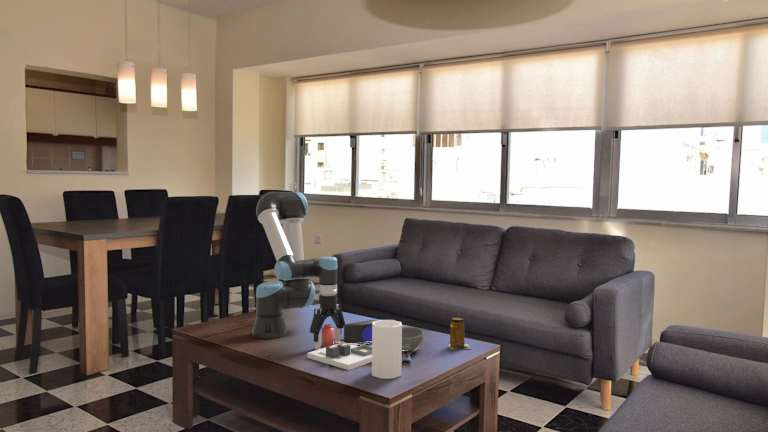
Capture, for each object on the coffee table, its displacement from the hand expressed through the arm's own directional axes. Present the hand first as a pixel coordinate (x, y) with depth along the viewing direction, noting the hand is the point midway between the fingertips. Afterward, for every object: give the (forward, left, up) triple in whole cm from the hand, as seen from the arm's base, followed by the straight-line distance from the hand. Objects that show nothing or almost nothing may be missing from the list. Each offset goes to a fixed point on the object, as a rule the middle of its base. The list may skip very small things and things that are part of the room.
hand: (327, 346), depth 236 cm
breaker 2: (+17, -8, +2) cm, 19 cm away
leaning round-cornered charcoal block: (+7, +13, 0) cm, 15 cm away
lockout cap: (0, 0, 0) cm, 0 cm away
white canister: (+40, -10, 0) cm, 41 cm away
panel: (+16, -6, 0) cm, 17 cm away
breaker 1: (+16, -13, +2) cm, 20 cm away
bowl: (+26, +17, 0) cm, 31 cm away
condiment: (+41, +37, 0) cm, 55 cm away
